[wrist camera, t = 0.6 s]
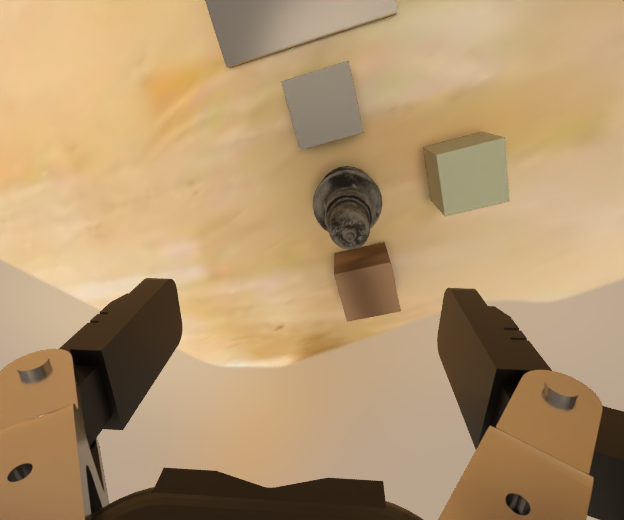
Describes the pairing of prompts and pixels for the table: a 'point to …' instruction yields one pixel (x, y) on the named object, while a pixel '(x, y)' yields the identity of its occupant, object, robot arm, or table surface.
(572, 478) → the robot arm
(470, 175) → the sage block
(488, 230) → the table surface
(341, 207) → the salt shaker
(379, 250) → the walnut block
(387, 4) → the grey tile
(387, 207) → the table surface
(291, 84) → the grey block
